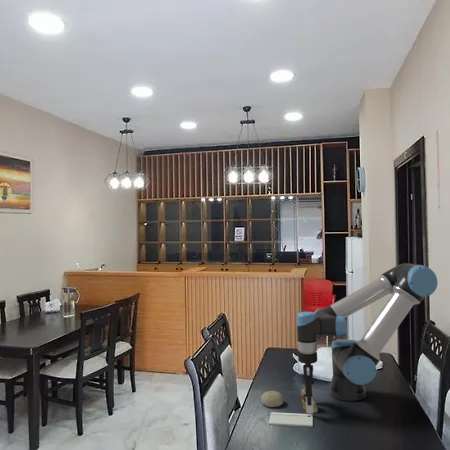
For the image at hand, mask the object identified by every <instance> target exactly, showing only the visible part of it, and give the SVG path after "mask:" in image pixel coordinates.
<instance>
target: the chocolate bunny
mask: <svg viewBox="0 0 450 450" xmlns="http://www.w3.org/2000/svg"><path fill="white" fill-rule="evenodd" d="M300 393H301V395H300V396H301V397H302V399H301V402H302V403H301V404H302V408H303V410H304V411H306V397H304V395H305V394H306V389H305V388H303V389H302V390H301V391H300ZM310 394H311V393H310ZM318 409H319V408H318V405H317V403H316V401H315V399H314V398H313V413H312V414H318V411H319V410H318Z"/></svg>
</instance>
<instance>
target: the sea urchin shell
mask: <svg viewBox="0 0 450 450" xmlns="http://www.w3.org/2000/svg"><path fill="white" fill-rule="evenodd" d="M260 401H261V404H263V405H264V406H265V407H267V408H278V407H280V406H282V405H283V403H284V401H285V399H284V396H283V394H282V393H281V392H279V391H276V390H268V391H266V392H264V393H262V395H261V396H260Z"/></svg>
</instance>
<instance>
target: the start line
mask: <svg viewBox="0 0 450 450" xmlns="http://www.w3.org/2000/svg"><path fill="white" fill-rule="evenodd" d="M270 415H288V416H310V417H313V413H295V412H275V411H273V412H272V411H271V412H270Z"/></svg>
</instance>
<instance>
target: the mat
mask: <svg viewBox="0 0 450 450" xmlns="http://www.w3.org/2000/svg"><path fill="white" fill-rule="evenodd" d="M313 421H314V419H313V417H308V416H288V415H271V414H270V416H269V421H268V425H271V426H272V425H273V426H288V427H289V426H290V427H305V428H306V427H307V428H309V427H310V428H314V427H313V426H314V424H313V423H314V422H313Z"/></svg>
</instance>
